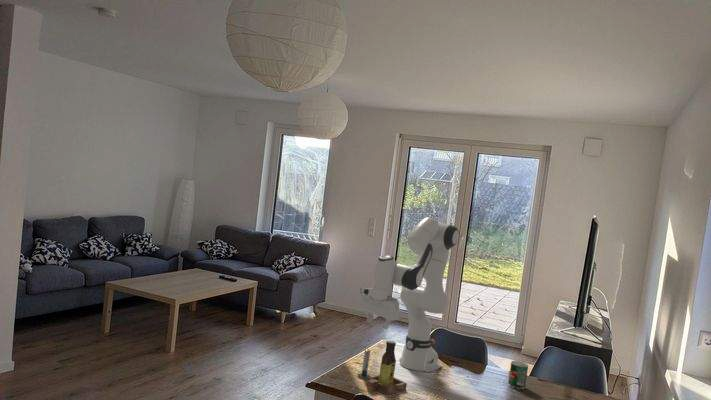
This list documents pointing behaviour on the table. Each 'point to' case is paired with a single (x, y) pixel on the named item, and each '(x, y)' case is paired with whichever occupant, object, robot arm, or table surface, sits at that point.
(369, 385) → the wooden frame with handle
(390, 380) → the sauce bottle
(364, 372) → the grey plunger shape
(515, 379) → the canned tomato
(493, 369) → the table surface
